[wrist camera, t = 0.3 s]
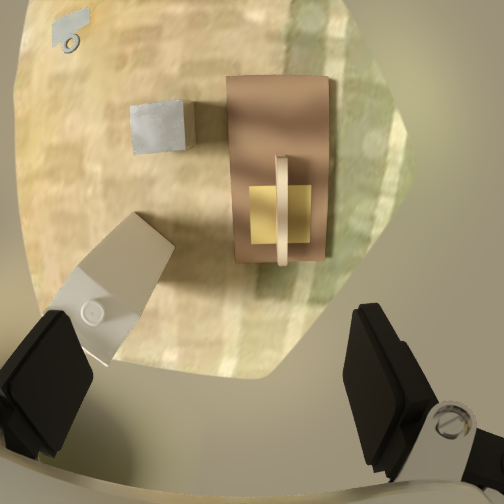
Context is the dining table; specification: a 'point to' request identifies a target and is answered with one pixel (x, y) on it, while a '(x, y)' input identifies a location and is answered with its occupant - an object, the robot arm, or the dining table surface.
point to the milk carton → (113, 286)
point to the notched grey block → (163, 126)
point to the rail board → (279, 166)
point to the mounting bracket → (69, 28)
